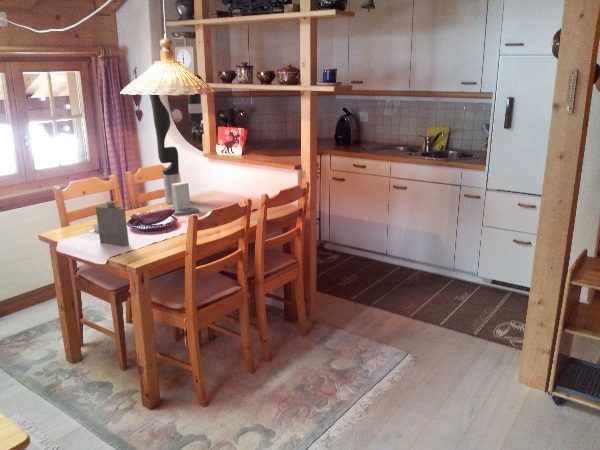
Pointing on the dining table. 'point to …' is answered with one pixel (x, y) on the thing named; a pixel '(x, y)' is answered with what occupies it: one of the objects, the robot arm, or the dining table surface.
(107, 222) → the hip flask
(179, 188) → the skincare box
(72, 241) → the dining table surface
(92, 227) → the teacup and saucer
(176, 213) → the slate board
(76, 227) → the dining table surface
